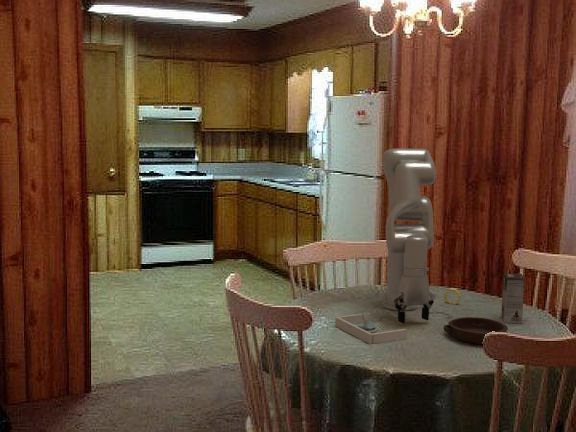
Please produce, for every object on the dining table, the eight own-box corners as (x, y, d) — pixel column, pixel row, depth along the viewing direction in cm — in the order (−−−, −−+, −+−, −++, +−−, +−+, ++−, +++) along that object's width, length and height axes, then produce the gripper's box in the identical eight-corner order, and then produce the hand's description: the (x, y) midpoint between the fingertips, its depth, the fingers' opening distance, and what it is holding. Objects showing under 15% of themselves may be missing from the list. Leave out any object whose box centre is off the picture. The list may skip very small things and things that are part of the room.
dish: (451, 327, 222) (451, 313, 222) (518, 337, 211) (519, 322, 211) (435, 340, 207) (436, 325, 207) (507, 352, 196) (508, 336, 196)
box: (335, 325, 222) (335, 317, 222) (368, 321, 228) (368, 312, 228) (370, 344, 202) (370, 334, 202) (406, 338, 208) (406, 329, 208)
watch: (460, 304, 254) (462, 289, 253) (458, 306, 251) (460, 291, 250) (445, 301, 257) (446, 286, 256) (443, 303, 254) (444, 288, 253)
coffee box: (500, 316, 237) (502, 272, 235) (519, 317, 235) (521, 273, 233) (503, 322, 228) (505, 277, 226) (522, 324, 226) (525, 278, 224)
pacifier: (381, 330, 218) (365, 326, 222) (382, 312, 218) (365, 308, 221) (371, 335, 212) (354, 331, 216) (372, 316, 211) (355, 313, 215)
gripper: (429, 267, 229) (427, 315, 231) (387, 271, 222) (385, 320, 224) (442, 272, 222) (440, 321, 224) (399, 276, 215) (398, 326, 217)
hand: (413, 320), depth 224 cm, fingers open, 9 cm apart
